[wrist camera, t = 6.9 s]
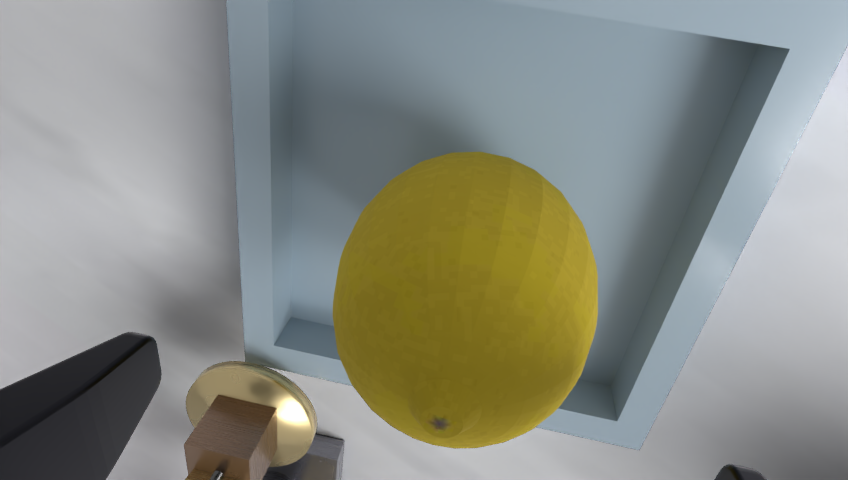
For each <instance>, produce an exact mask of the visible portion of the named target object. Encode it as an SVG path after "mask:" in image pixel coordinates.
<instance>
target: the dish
mask: <svg viewBox="0 0 848 480" xmlns="http://www.w3.org/2000/svg"><path fill="white" fill-rule="evenodd" d="M226 8H227V27H228V46H229V65H230V84H231V102H232V121H233V140H234V159H235V178H236V197H237V216H238V235H239V254H240V273H241V292H242V311H243V329H244V348H245V362H249V363H254V364H258V365H262V366H266V367H270V368H275V369H279V370H284V371H288V372H293V373H297V374H302V375H306V376H311V377H315V378H319V379H324V380H328V381H333V382H337V383H342V384H346V385H351V386H353V385H352V384H351V382H350V380H349V378H348V375H347V373H346V371H345V369H344V367H343V364H342V362H341V359H340V357H339V354H338V352H337V345H336V338H335V330H334V323H333V299H334V291H335V285H336V279H337V273H338V267H339V263H340V258H341V255H342V252H343V249H344V246H345V244H346V242H347V240H348V238H349V236H350V234H351V232H352V230H353V228H354V226H355V224H356V222H357V220H358V218H359V216H360V214H361V213H362V211H363V210H364V208H365V207H366V206H367V205H368V204H369V202H370V201H371V200H372V199H373V198H374V197H375V196H376V195H377V194H378V193H379V192H380V191H381V190H382V189H383V188H384V187H385V186H386V185H387V184H388V183H389V182H390V180H392V179H393V178H395V177H396V176H398V175H399V174H401V173H403V172H404V171H406V170H408V169H409V168H411V167H413V166H415V165H416V164H418V163H420V162H422V161H424V160H428V159H431V158H435V157H438V156H441V155H445V154H448V153H453V152H485V153H490V154H494V155H499V156H504V157H509V158H511V159H513V160H515V161H517V162H519V163H521V164H524V165H526V166H528V167H530V168H532V169H534V170H536V171H537V172H538V173H539V174H541V175H542V176H543V177H544V178H545V179H546V180H548V181H549V182H550V183H551V184H552V185H554V186H555V187H556V188H557V189H558V190H559V191H561V192H562V194H563V195H564V197H565V198H566V200H567V201H568V203H569V204H570V205H571V207H572V208H573V210H574V211H575V213H576V214H577V216H578V217H579V219H580V220H581V222H582V224H583V226H584V228H585V231H586V234H587V237H588V240H589V243H590V246H591V249H592V252H593V255H594V258H595V262H596V265H597V274H598V316H597V324H596V329H595V334H594V338H593V341H592V344H591V347H590V350H589V353H588V356H587V359H586V362H585V365H584V368H583V371H582V374H581V376H580V377H579V379H578V381H577V383H576V385H575V386H574V387H573V389H572V390H571V392H570V393H569V394H568V396H567V397H566V399H565V400H564V401H563V403H562V404H561V405H560V406H559V407H558V409H557V410H556V411H555V412H554V413H553V414H551V415H550V416H549V417H548V418H546V419H545V420H544V421H543V422H541V423H540V424H539V425H537V426H536V427H538V428H542V429H547V430H551V431H556V432H560V433H564V434H569V435H573V436H578V437H582V438H587V439H591V440H596V441H600V442H605V443H609V444H613V445H618V446H622V447H627V448H631V449H636V450H640V448H641V446H642V444H643V442H644V440H645V438H646V437H647V435H648V433H649V431H650V429H651V427H652V425H653V423H654V421H655V419H656V417H657V415H658V413H659V411H660V409H661V407H662V405H663V404H664V402H665V400H666V398H667V396H668V394H669V392H670V390H671V388H672V386H673V384H674V382H675V380H676V378H677V376H678V374H679V372H680V371H681V369H682V367H683V365H684V363H685V361H686V359H687V357H688V355H689V353H690V351H691V349H692V347H693V345H694V343H695V341H696V339H697V337H698V336H699V334H700V332H701V330H702V328H703V326H704V324H705V322H706V320H707V318H708V316H709V314H710V312H711V310H712V308H713V306H714V304H715V303H716V301H717V299H718V297H719V295H720V293H721V291H722V289H723V287H724V285H725V283H726V281H727V279H728V277H729V275H730V273H731V271H732V270H733V268H734V266H735V264H736V262H737V260H738V258H739V256H740V254H741V252H742V250H743V248H744V246H745V244H746V242H747V240H748V238H749V237H750V235H751V233H752V231H753V229H754V227H755V225H756V223H757V221H758V219H759V217H760V215H761V213H762V211H763V209H764V207H765V205H766V204H767V202H768V200H769V198H770V196H771V194H772V192H773V190H774V188H775V186H776V184H777V182H778V180H779V178H780V176H781V174H782V172H783V171H784V169H785V167H786V165H787V163H788V161H789V159H790V157H791V155H792V153H793V151H794V149H795V147H796V145H797V143H798V141H799V139H800V138H801V136H802V134H803V132H804V130H805V128H806V126H807V124H808V122H809V120H810V118H811V116H812V114H813V112H814V110H815V108H816V106H817V104H818V103H819V101H820V99H821V97H822V95H823V93H824V91H825V89H826V87H827V85H828V83H829V81H830V79H831V77H832V75H833V73H834V71H835V70H836V68H837V66H838V64H839V62H840V60H841V58H842V56H843V54H844V52H845V50H846V48H847V46H848V0H226Z"/></svg>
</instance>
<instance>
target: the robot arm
mask: <svg viewBox="0 0 848 480" xmlns="http://www.w3.org/2000/svg"><path fill="white" fill-rule="evenodd" d="M160 381H161V367H160V361H159V355H158V349H157V343H156V341H155V339H154V338H153V337H151V336H148V335H143V334H139V333H134V332H127V333H124V334H121V335H119V336H117V337H115V338H113V339H110V340H108V341H106V342H104V343H102V344H99V345H97V346H95V347H93V348H91V349H88V350H86V351H84V352H82V353H79V354H77V355H75V356H73V357H71V358H68V359H66V360H64V361H62V362H60V363H57V364H55V365H53V366H51V367H49V368H46V369H44V370H42V371H40V372H38V373H35V374H33V375H31V376H29V377H27V378H24V379H22V380H20V381H18V382H16V383H13V384H11V385H9V386H7V387H5V388H2V389H0V480H106V478H107V477H108V475H109V474H110V472H111V470H112V469H113V467H114V465H115V464H116V462H117V460H118V459H119V457H120V455H121V453H122V452H123V450H124V448H125V446H126V444H127V443H128V441H129V439H130V437H131V435H132V434H133V432H134V430H135V428H136V426H137V425H138V423H139V421H140V419H141V417H142V416H143V414H144V412H145V410H146V409H147V407H148V405H149V403H150V401H151V400H152V398H153V396H154V394H155V392H156V391H157V389H158V387H159V384H160ZM715 480H767V479H766V478H765V477H764V476H763V475H762V474H760V473H759V472H758V471H756V470H754V469H751V468H746V467H742V466H737V465H733V464H728V465H726V466H724V467H723V468H722V469H721V471H720V472H719V474H718V475H717V477H716V478H715Z"/></svg>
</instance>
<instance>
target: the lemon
mask: <svg viewBox="0 0 848 480" xmlns="http://www.w3.org/2000/svg"><path fill="white" fill-rule="evenodd" d="M597 316H598V274H597V265H596V262H595V258H594V255H593V252H592V249H591V246H590V243H589V240H588V237H587V234H586V231H585V228H584V226H583V224H582V222H581V220H580V219H579V217H578V216H577V214H576V213H575V211H574V210H573V208H572V207H571V205H570V204H569V203H568V201H567V200H566V198H565V197H564V195H563V194H562V192H561V191H559V190H558V189H557V188H556V187H555V186H554V185H552V184H551V183H550V182H549V181H548V180H546V179H545V178H544V177H543V176H542V175H541V174H539V173H538V172H537V171H536V170H534V169H532V168H530V167H528V166H526V165H524V164H521V163H519V162H517V161H515V160H513V159H511V158H509V157H504V156H499V155H494V154H490V153H485V152H453V153H448V154H445V155H441V156H438V157H435V158H431V159H428V160H424V161H422V162H420V163H418V164H416V165H415V166H413V167H411V168H409V169H408V170H406V171H404V172H403V173H401V174H399V175H398V176H396V177H395V178H393V179H392V180H390V182H389V183H388V184H387V185H386V186H385V187H384V188H383V189H382V190H381V191H380V192H379V193H378V194H377V195H376V196H375V197H374V198H373V199H372V200H371V201H370V202H369V204H368V205H367V206H366V207H365V208H364V210H363V211H362V213H361V214H360V216H359V218H358V220H357V222H356V224H355V226H354V228H353V230H352V232H351V234H350V236H349V238H348V240H347V242H346V244H345V246H344V249H343V252H342V255H341V258H340V263H339V267H338V273H337V279H336V285H335V291H334V299H333V323H334V330H335V338H336V345H337V352H338V354H339V357H340V359H341V362H342V364H343V367H344V369H345V371H346V373H347V375H348V378H349V380H350V382H351V384H352V385H353V387H354V388H355V389H356V390H357V392H358V393H359V394H360V396H361V397H362V398H363V399H364V401H365V402H366V403H367V405H368V406H369V407H370V408H371V410H373V411H374V412H375V413H376V414H377V415H379V416H380V417H381V418H382V419H383V420H385V421H386V422H387V423H388V424H389V425H391V426H392V427H394V428H396V429H397V430H399V431H401V432H403V433H405V434H407V435H408V436H410V437H412V438H414V439H417V440H420V441H423V442H426V443H429V444H432V445H437V446H443V447H449V448H478V447H484V446H488V445H493V444H498V443H503V442H506V441H508V440H510V439H513V438H515V437H517V436H519V435H522V434H524V433H526V432H528V431H530V430H532V429H533V428H535V427H536V426H537V425H539V424H540V423H541V422H543V421H544V420H545V419H546V418H548V417H549V416H550V415H551V414H553V413H554V412H555V411H556V410H557V409H558V407H559V406H560V405H561V404H562V403H563V401H564V400H565V399H566V397H567V396H568V394H569V393H570V392H571V390H572V389H573V387H574V386H575V385H576V383H577V381H578V379H579V377H580V376H581V374H582V371H583V368H584V365H585V362H586V359H587V356H588V353H589V350H590V347H591V344H592V341H593V338H594V334H595V329H596V324H597Z"/></svg>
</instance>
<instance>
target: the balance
mask: <svg viewBox="0 0 848 480" xmlns="http://www.w3.org/2000/svg"><path fill="white" fill-rule="evenodd" d="M186 409H187V414H188V416H189V419H190V421H191V423H192V425H193V426H194V428H195V429H194V430H193V432H192V433H191V435H190V436H189V438H188V439H187V441H186V442H185V444H184V449H185V455H186V462H187V469H188V476H187V478H186V479H185V480H341V475H342V463H343V451H344V441H343V440H339V439H335V438H330V437H326V436H322V435H317V434H315V433H316V430H317V417H316V413H315V410H314V408H313V406H312V404H311V402H310V400H309V399H308V398H307V396H306V395H305V394H304V393H303V391H302V390H301V389H300V388H299V387H298V386H296V385H295V384H294V383H293V382H292V381H290V380H289V379H288V378H286V377H285V376H283V375H281V374H280V373H278V372H276V371H274V370H272V369H269V368H267V367H264V366H261V365H258V364H254V363H249V362H241V361H228V362H222V363H218V364H215V365H213V366H211V367H209V368H207V369H206V370H204V371H203V372H202V373H201V374H200V375H199V377H198V378H197V379H196V381H195V382H194V383H193V385H192V386H191V388H190V389H189V391H188V394H187V397H186Z"/></svg>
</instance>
